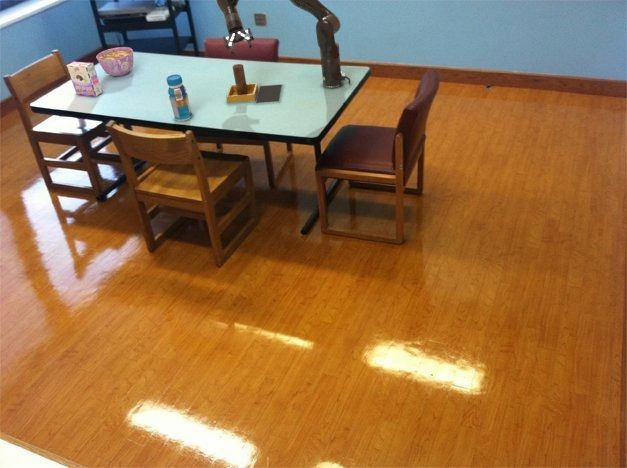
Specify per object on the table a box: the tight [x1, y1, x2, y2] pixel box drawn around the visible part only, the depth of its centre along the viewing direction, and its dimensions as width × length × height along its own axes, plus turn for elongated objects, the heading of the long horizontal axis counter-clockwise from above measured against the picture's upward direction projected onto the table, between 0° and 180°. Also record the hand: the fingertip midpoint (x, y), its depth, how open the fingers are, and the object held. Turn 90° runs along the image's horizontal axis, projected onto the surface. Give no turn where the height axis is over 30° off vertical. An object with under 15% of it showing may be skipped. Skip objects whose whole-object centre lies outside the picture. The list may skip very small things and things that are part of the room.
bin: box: [226, 82, 259, 103], centre depth 293 cm, size 14×14×4 cm
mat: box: [255, 84, 283, 104], centre depth 293 cm, size 11×20×1 cm, turn 178°
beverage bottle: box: [166, 73, 193, 122], centre depth 276 cm, size 8×8×20 cm
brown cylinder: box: [232, 63, 248, 95], centre depth 290 cm, size 5×5×15 cm
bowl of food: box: [95, 46, 134, 77], centre depth 333 cm, size 20×20×12 cm
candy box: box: [65, 61, 103, 98], centre depth 312 cm, size 14×6×16 cm, turn 65°
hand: (241, 50), depth 286 cm, fingers open, 8 cm apart
